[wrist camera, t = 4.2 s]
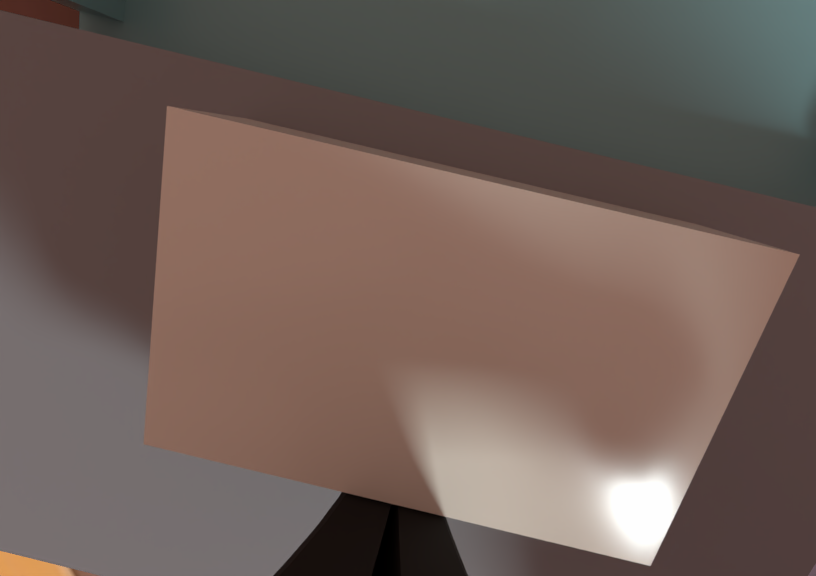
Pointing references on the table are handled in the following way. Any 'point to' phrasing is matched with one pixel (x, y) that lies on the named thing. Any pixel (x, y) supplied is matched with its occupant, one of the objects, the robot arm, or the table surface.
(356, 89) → the tray
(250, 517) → the bench plate
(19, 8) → the table surface
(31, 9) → the table surface
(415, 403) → the cream tile
